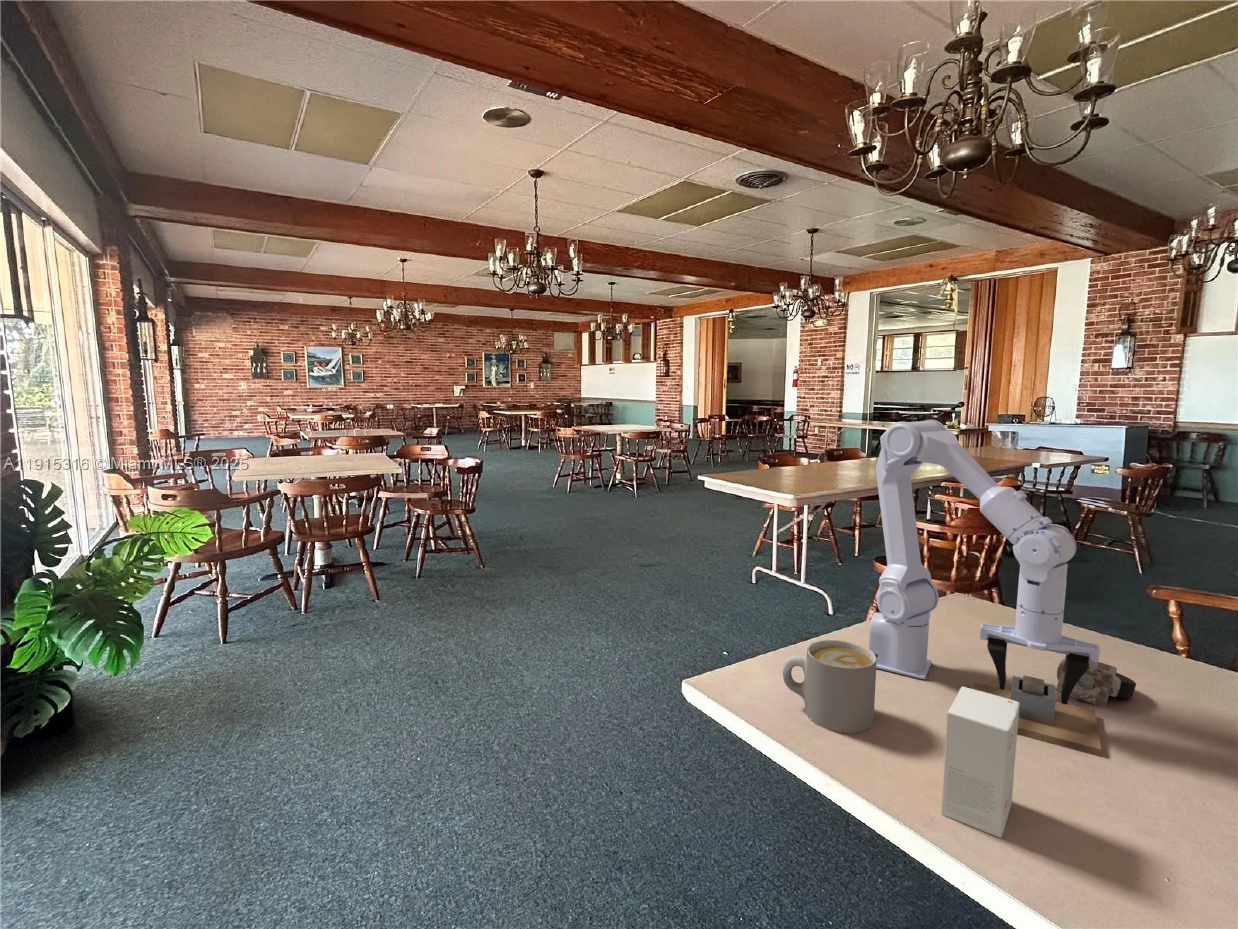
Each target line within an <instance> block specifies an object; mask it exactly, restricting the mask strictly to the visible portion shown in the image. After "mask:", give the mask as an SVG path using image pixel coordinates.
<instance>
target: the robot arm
mask: <svg viewBox="0 0 1238 929" xmlns="http://www.w3.org/2000/svg"><path fill="white" fill-rule="evenodd" d="M879 441H880V447H881V449H880V452H879V455H878V458H877V460H876V461H877V462H876V465H875V474H876V475H875V476H876V483H877V490H878V497H879V498H878V499H879V507H880V516H881V522H882V530H883V538H884V548H885V556H886V567H885V569H884V570H883V571H882V573H881V575H880V576H879V579H878V582H879V583H878V584H879V589H878V592H877V595H876V603H877V604H876V605H877V607H878V610H879V612H874V613H873V614H872V616H871V620H870V624H869V632H868V649H869V650H871V651H872V652H873V653H874V654H875V656H876V669H880V670H883V671H888V672H892V673H896V674H900V675H905V676H908V677H913V678H916V679H920V680H925V679H926V678H927V675H928V672H929V670H930V668H931V665H932V659H930V658H929V659H928V647H929V630H930V618H931V612H933V610H935V609H936V608H937V606H938V604H939V598H940V597H939V591H938V590H937V588H936V586H935V584H934V583H933V580H932V575H931V571H929V569H928V568H927V567H925V566H924V565H923V564H922V561H921V553H920V550H921V549H920V543H919V536H918V527H917V521H916V520H917V519H916V511H915V503H914V497H913V496H914V495H913V486H912V480H911V476H912V475H913V473H914V472H916V470H918V469H919V467H920V466H922V465H923V463H926V464H932V465H937V466H940V467H943V468H944V469H945V470H946V471H947V472H948V473H949V474H951V475H952V476H953V477H954V478H955V479H956V480H957V481H958V482H959V483H960V484H962V485H963V486H964V487H965V488H966V489H967V490H968V491H969V492H970V493H972V494H973V495H974V496H975V497H976V498H977V499H978V500H979V511H980V513H981V514H982V515H983V516H984V517H985V518H986V519H987V520H988V521H989V522H990V523H991V524H992V525H993V526H994V527H995V528H996V529H997V530H998V531H999V532H1000V533H1001V534H1002V535H1003V536H1004V538H1006V539H1007V540H1008V541H1009V542H1010V543H1011V544H1012V550H1013V551H1012V552H1013V555H1014V557H1015V559H1016V560H1017V562H1018V564H1019V574H1018V585H1017V586H1018V587H1017V599H1016V610H1015V622H1014V623H1015V624H1014V626H1010V625H997V624H989V623H982V622H981V624H980V627H979V628H980V629H979V640H982V641H983V640H984V641H987V650H988V654H989V655H990V657H991V659H992V662H993V664H994V668H995V670H996V674H997V679H998V684H999V686H998V688H999V689H1002V690H1005V689H1006V682H1007V681H1006V679H1007V670H1006V669H1007V668H1006V663H1007V651H1008V650H1007V649H1008V644H1012V645H1017V646H1020V647H1026V648H1029V649H1031V650H1036V651H1041V652H1042V651H1043V652H1044V651H1046V652H1052V653H1057V654H1063V655H1065V656H1066V662H1065V675H1064V681H1063V686H1062V691H1061V693H1060V700H1061V701H1060V702H1061V704H1065V705H1067V704H1069V703H1068V702H1069V699H1070V697H1071V696H1070V694H1071V692H1072V690H1073V688H1074V686H1075V685H1076V683H1077V682H1078V681H1079V679H1080V678H1081V677H1082V676H1083V675H1084V674H1085V673H1086V671H1087V670H1088V668H1089V660H1090V661H1093V662H1100V652H1101V649H1100V645H1099V644H1096V643H1091V642H1086V641H1082V640H1081V639H1080V640H1079V639H1076V638H1072V637H1069V636H1066V635H1065V636H1064V635H1062V634H1063V624H1064V612H1065V602H1066V590H1067V575H1068V566H1069V564H1068V563H1067V562H1069V561H1070V560H1071V559H1073V557H1074V556H1075V555H1076V552H1077V542H1076V540H1075V537H1074V536H1073V535H1072V533H1071V532H1070V530H1069V529H1068V528H1067V527H1065V526H1063V525H1059V524H1054V523H1052V522H1053V521H1052V520H1051V518H1049V516H1045V517H1044V516H1043V515H1042V514H1041V513H1040V512H1039V511H1038V510H1037V509H1036V508H1035V507H1034V506H1033V505H1032V504H1030V502H1029V501H1027V500H1026V499H1027V497H1028V496H1027V494H1026V493H1025V492H1023V490H1017V491H1016V489H1015V488H1013V487H1011V486H1001V485H999V484H998V483H997V482H996V481H995V480H994V479H993V478H992V477H991V476H990V475H989V473H988V472H986V470H985V469H984V468H983V467H982V466H981V464H979V463H978V461H976V460H975V458H974V457H972V455H971V454H970V453H969V452H968V451H967V450H966V448H964V447H963V445H961V443H960V442H959V440H958V438H957V436H956V435H955V433H954V432H952V431H950V430H948V429H947V428H946V427H945V425H944V424H943V423H941V422H940V421H938V420H935V419H926V420H920V421H908V422H907V421H898V422H895V423H892V424H891V425H890V426H889V427H888V428H887V429H886V430H885V431H884V432H883V434H882V435H881V436H880V437H879Z"/></svg>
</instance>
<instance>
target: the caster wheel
mask: <svg viewBox="0 0 1238 929" xmlns="http://www.w3.org/2000/svg"><path fill="white" fill-rule="evenodd" d="M1065 662H1066V655H1065V656H1064V657H1063V659H1062V660H1061V661H1060V663H1059V664H1058V666H1057V669H1056V678H1057V681H1058V683H1057V685H1056V687H1055V693H1059V694H1061V691H1062V686H1063V681H1064V675H1065ZM1117 671H1118V668H1117V667H1116V666H1114V665H1110V664H1107V663H1104V662H1101V661H1099V662H1093V661H1090V660H1089V668H1088V670H1087V671H1086V673H1085V674H1084V675H1083V676H1082V677H1081V678H1080V679H1079V681H1078V682H1077V683H1076V685H1075V686H1074V688H1073V690H1072V692H1071V694H1070V696H1069V697H1071V698H1073V699H1076V700H1080V701H1083V702H1086V703H1089V704H1092V705H1094V706H1098V707H1102V708H1105V707H1106V706H1107V704H1108V699H1109V697H1114V698H1116V697H1119V698H1122V699H1131V698H1133V695H1134V693H1135V689H1136V686H1137V683H1136V682H1135V681H1134V680H1133V679H1132V678H1130V677H1128V676H1125V675H1123V674H1121V673H1119V672H1117Z"/></svg>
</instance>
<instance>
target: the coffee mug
mask: <svg viewBox="0 0 1238 929" xmlns="http://www.w3.org/2000/svg"><path fill="white" fill-rule="evenodd" d="M794 667H800V668H801V669H802V670H803V675H804V679H803V681H802V682H797V681H796V680H795V679H794V678H793V676H792V670H793V668H794ZM782 669H783V670H782V677H783V681H784V684H785V686H786V687H787V688H788V690H790V691H792V692H793V693H795V694H797V695H798V696H800V697H801V698H802V700H803V701H804V711H805V712H806V713H805V712H804V713H805V715H806V714H807V715H808V717H809V718H810V719H812V721H811V722H812V723H814V722H815V723H816V724H815V723H814V724H815V725H817V724H818V725H817V726H819V727H821V726H822V727H821V728H823V727H824V728H823V729H825V728H826V730H828V729H829V730H828V731H832V732H836V733H841V732H845V733H844V734H856V733H857V732H858V733H863V732H865V731H868V730H870V729H871V728H872V727H873V725H874V721H875V720H874V718H875V700H876V699H875V697H876V681H877V680H876V678H877V668H876V656H875V654H874V653H873V652H872V651H871V650H869V648H867V647H866V646H863V645H861V644H859V643H855V642H852V641H847V640H839V639H823V640H817V641H813V642H811V643H810V644H809V645H808V646H807V649H806V655H799V654H798V655H797V654H796V655H795V654H794V655H791V656H789V657H788V658H787V659H786V660H785V661H784V664H783V668H782ZM807 715H806V716H807ZM808 717H807V718H808ZM809 718H808V719H809ZM810 719H809V720H810ZM855 732H856V733H855Z"/></svg>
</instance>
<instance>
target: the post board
mask: <svg viewBox="0 0 1238 929" xmlns="http://www.w3.org/2000/svg"><path fill="white" fill-rule="evenodd" d="M1022 678H1023V686H1022V690H1024V691H1028V692H1032V693H1037V694H1041V695H1043V694H1044V683H1045V679H1042V678H1038V677H1034V676H1029V675H1023V676H1022ZM971 689H974V690H978V691H982V692H985V693H989V694H993V695H997V696H1000V697H1004V698H1007V699H1010V698H1011V690H1010V689H1006V688H1005V690H1002V689H999V686H998V687H997V686H993V685H988V684H985V683H981V682H976V681H973V683H972V687H971ZM1097 720H1098V719H1097V714H1096V710H1095V709H1091V708H1087V707H1083V706H1079V705H1074V704H1070V703H1067V705H1065V704H1061V701H1057V700H1056V702H1055V713H1054V724H1053V726H1049V725H1045V724H1042V723H1038V722H1034V721H1030V720H1026V719H1022V718H1018V730H1017V735H1020V736H1024V737H1027V738H1031V739H1035V740H1039V741H1042V742H1046V743H1049V744H1053V745H1057V746H1061V747H1065V748H1068V749H1071V750H1076V751H1079V752H1084V753H1087V754H1090V755H1095V756H1098V757H1101V755H1102V745H1101V740H1100V732H1099V725H1098V721H1097Z"/></svg>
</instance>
